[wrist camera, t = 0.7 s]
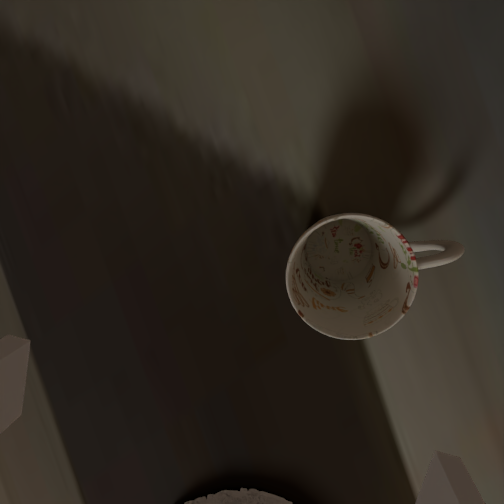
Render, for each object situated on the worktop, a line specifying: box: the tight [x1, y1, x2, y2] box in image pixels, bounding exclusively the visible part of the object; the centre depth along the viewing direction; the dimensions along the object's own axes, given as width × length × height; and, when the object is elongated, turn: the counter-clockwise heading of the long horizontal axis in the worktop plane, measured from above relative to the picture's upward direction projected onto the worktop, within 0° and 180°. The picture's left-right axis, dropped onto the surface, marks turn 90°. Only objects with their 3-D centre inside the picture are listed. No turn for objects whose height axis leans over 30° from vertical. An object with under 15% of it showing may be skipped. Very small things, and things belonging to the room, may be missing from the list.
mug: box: [286, 213, 464, 340], centre depth 32 cm, size 8×13×10 cm, turn 102°
